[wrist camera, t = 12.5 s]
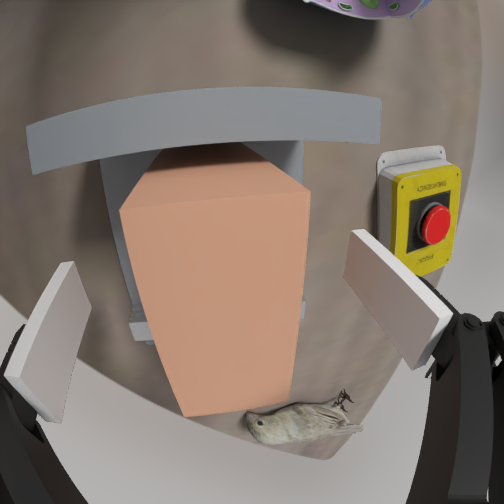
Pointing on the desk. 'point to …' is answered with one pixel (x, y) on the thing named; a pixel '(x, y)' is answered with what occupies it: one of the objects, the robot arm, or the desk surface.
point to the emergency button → (418, 206)
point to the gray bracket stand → (196, 135)
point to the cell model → (373, 8)
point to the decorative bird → (301, 423)
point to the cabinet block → (220, 272)
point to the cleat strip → (141, 325)
